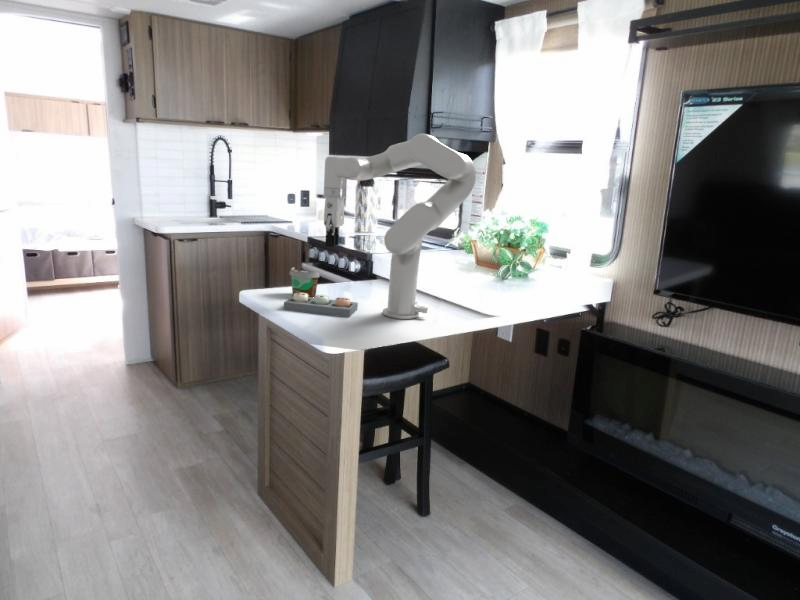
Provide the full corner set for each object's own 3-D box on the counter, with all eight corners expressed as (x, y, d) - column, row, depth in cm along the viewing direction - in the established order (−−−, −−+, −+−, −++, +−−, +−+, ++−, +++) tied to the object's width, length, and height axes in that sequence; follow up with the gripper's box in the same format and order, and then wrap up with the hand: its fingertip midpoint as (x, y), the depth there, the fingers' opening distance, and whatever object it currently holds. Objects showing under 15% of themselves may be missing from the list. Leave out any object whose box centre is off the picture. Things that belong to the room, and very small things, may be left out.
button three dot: (351, 306, 195) (351, 297, 195) (347, 310, 190) (348, 301, 190) (337, 305, 196) (337, 296, 195) (333, 308, 191) (333, 299, 190)
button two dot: (309, 301, 197) (310, 293, 197) (305, 305, 193) (305, 296, 192) (296, 300, 198) (296, 291, 197) (291, 303, 193) (291, 294, 193)
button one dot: (330, 304, 196) (330, 295, 196) (326, 307, 192) (326, 298, 191) (316, 302, 197) (317, 294, 196) (312, 305, 192) (312, 296, 192)
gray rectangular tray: (357, 309, 198) (357, 302, 198) (349, 317, 188) (349, 309, 187) (294, 302, 202) (295, 295, 201) (283, 309, 191) (284, 302, 190)
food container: (282, 295, 212) (282, 268, 209) (292, 292, 217) (293, 267, 215) (308, 300, 206) (309, 273, 204) (318, 297, 211) (319, 271, 209)
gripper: (338, 195, 186) (335, 249, 190) (351, 193, 203) (348, 244, 207) (316, 193, 187) (314, 247, 191) (331, 191, 204) (328, 242, 208)
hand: (332, 245), depth 199 cm, fingers open, 4 cm apart
